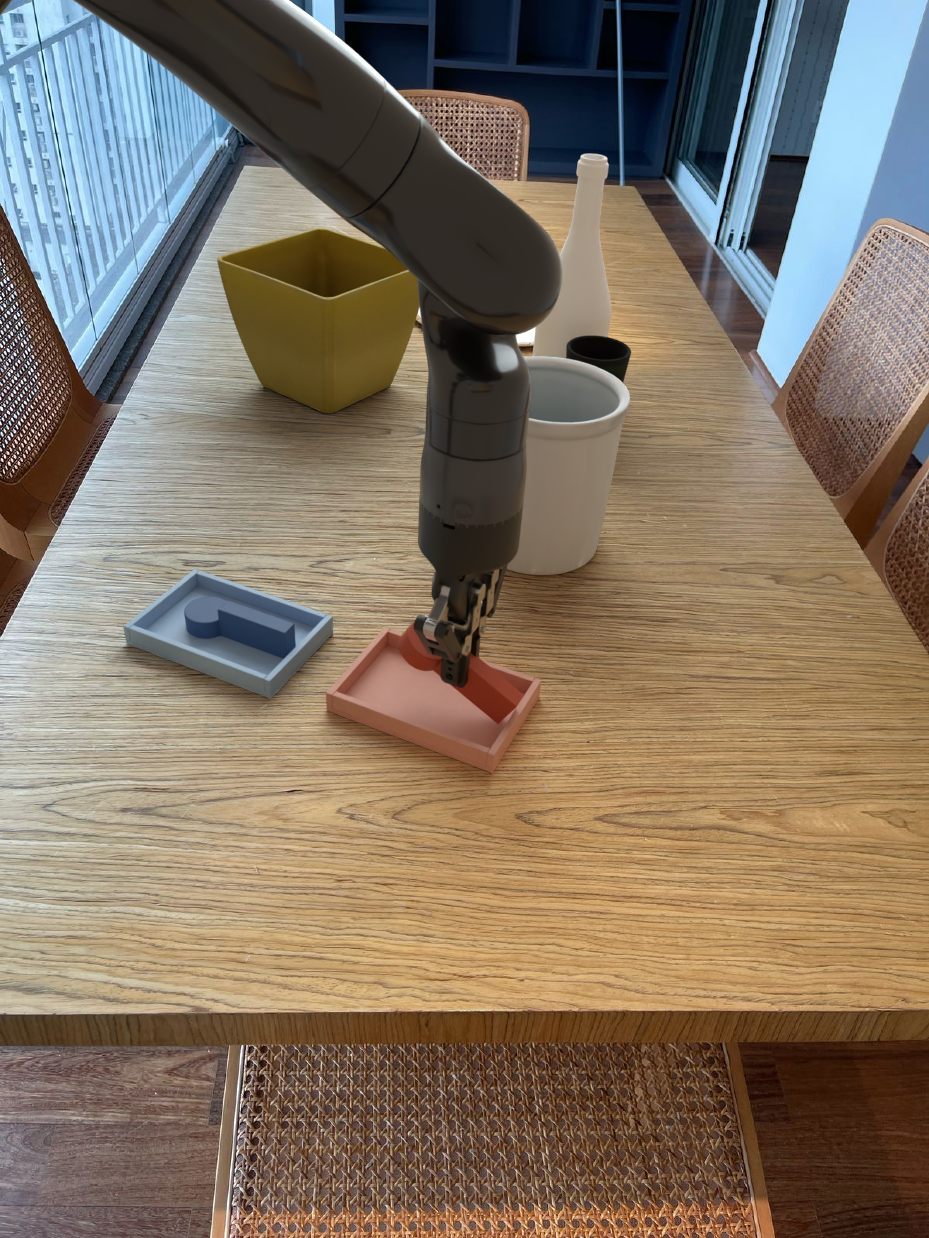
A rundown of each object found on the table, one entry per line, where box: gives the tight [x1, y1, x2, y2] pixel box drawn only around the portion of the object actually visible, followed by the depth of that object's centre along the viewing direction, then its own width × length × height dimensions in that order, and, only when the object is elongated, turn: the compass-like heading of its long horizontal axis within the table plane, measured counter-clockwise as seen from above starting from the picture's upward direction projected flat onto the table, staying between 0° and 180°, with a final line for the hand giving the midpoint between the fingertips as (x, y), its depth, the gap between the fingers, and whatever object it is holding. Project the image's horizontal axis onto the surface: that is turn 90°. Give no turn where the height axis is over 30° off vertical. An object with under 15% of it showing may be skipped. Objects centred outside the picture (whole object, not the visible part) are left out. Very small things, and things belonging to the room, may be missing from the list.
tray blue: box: [123, 568, 334, 699], centre depth 90 cm, size 15×10×2 cm
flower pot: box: [216, 227, 420, 414], centre depth 128 cm, size 19×19×17 cm
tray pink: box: [325, 626, 543, 774], centre depth 85 cm, size 15×10×2 cm
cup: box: [566, 335, 632, 384], centre depth 122 cm, size 8×8×12 cm
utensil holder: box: [507, 355, 631, 576], centre depth 101 cm, size 15×15×18 cm
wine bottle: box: [532, 153, 613, 359], centre depth 127 cm, size 10×10×30 cm
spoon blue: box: [184, 597, 296, 659], centre depth 89 cm, size 11×4×3 cm, turn 65°
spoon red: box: [399, 621, 524, 724], centre depth 82 cm, size 11×4×3 cm, turn 65°
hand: (458, 675), depth 82 cm, fingers closed on spoon red, 1 cm apart
